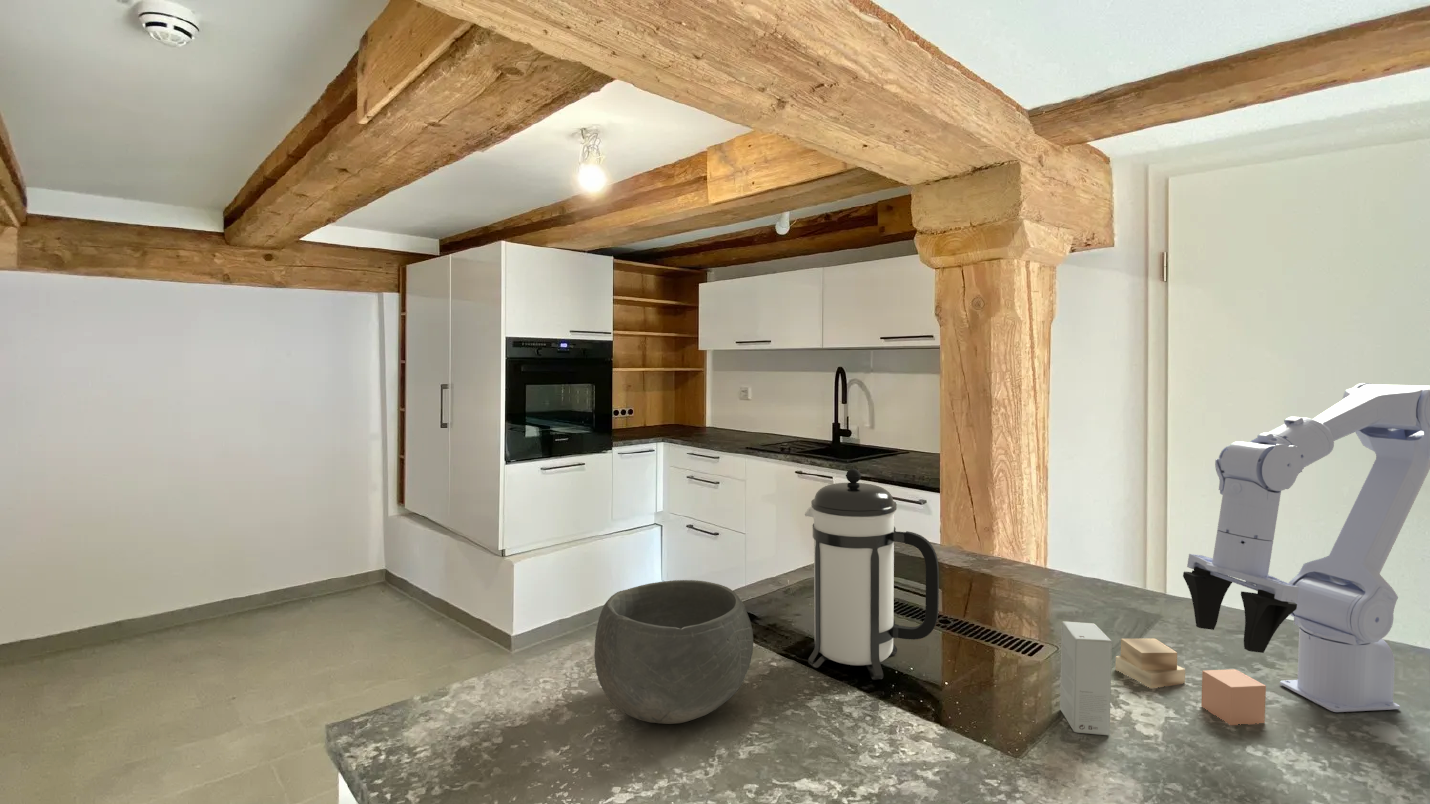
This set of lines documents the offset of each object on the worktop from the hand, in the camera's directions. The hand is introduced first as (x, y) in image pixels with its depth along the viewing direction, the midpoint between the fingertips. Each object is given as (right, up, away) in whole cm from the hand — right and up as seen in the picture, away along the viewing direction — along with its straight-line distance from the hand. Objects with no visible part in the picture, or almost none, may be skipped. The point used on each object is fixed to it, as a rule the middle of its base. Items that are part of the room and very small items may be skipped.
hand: (1228, 639), depth 86 cm
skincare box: (-19, -11, -1) cm, 22 cm away
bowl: (-72, -11, +4) cm, 72 cm away
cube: (+1, -10, 0) cm, 10 cm away
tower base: (-3, -10, +11) cm, 15 cm away
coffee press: (-43, -10, +18) cm, 48 cm away
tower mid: (-3, -7, +11) cm, 14 cm away
